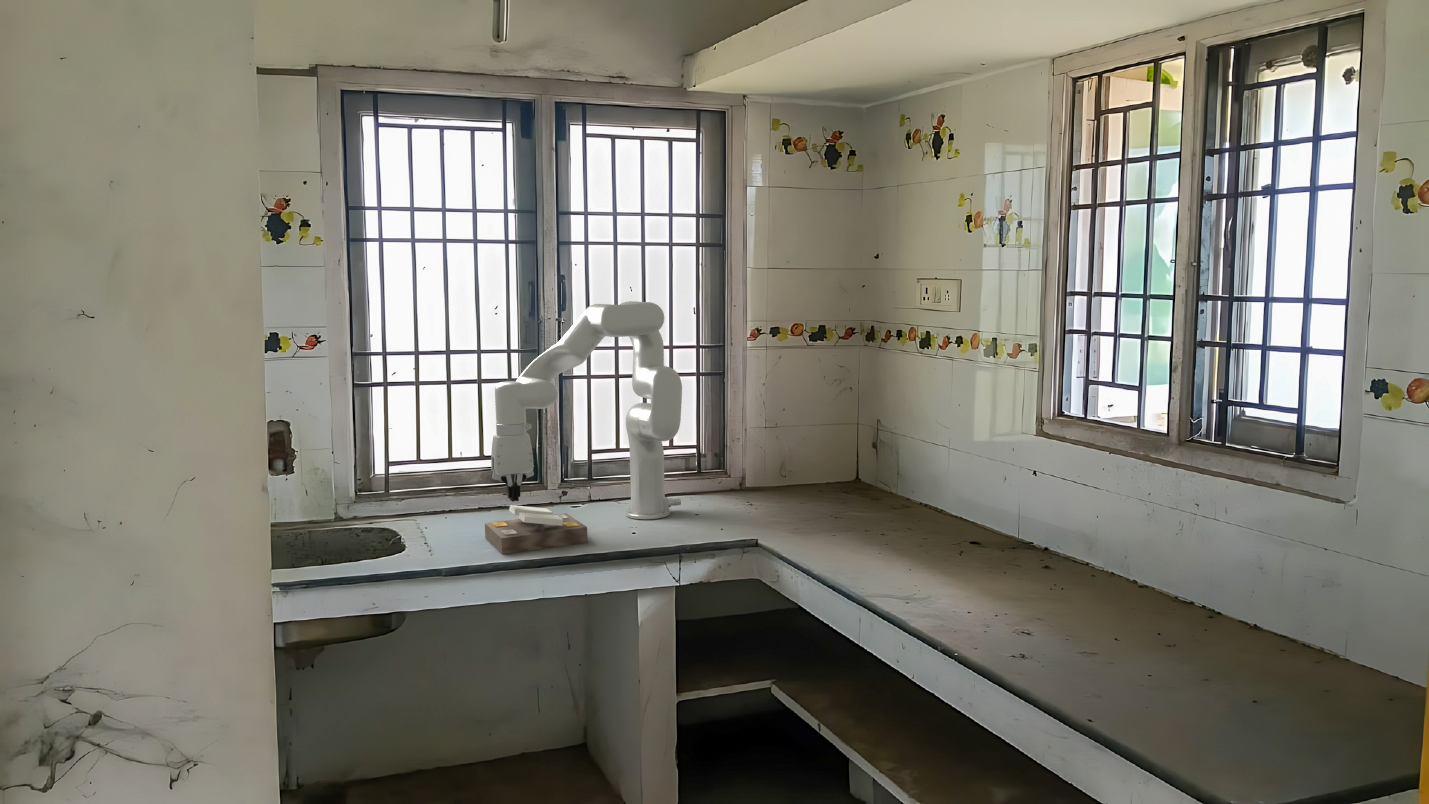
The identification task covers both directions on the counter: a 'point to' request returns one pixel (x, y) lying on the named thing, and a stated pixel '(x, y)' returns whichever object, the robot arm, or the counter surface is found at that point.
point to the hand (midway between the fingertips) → (514, 500)
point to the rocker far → (529, 510)
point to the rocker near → (540, 519)
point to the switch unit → (534, 534)
